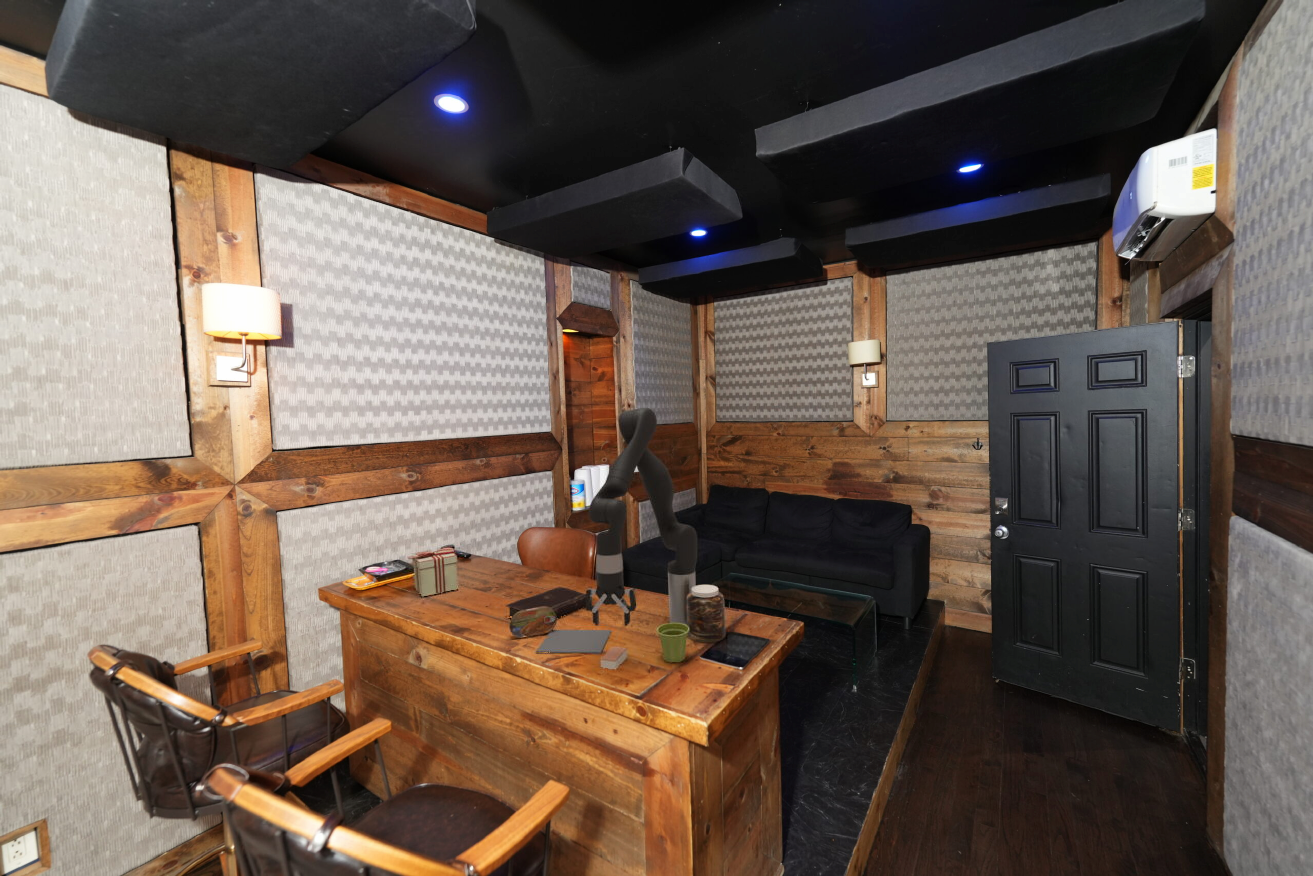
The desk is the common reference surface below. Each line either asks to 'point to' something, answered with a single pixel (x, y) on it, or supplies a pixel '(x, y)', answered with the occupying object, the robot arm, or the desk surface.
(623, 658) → the block
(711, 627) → the jar
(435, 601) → the desk surface
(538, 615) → the tin
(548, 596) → the diary
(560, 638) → the mat
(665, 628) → the plant pot
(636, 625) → the desk surface
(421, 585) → the gift box
